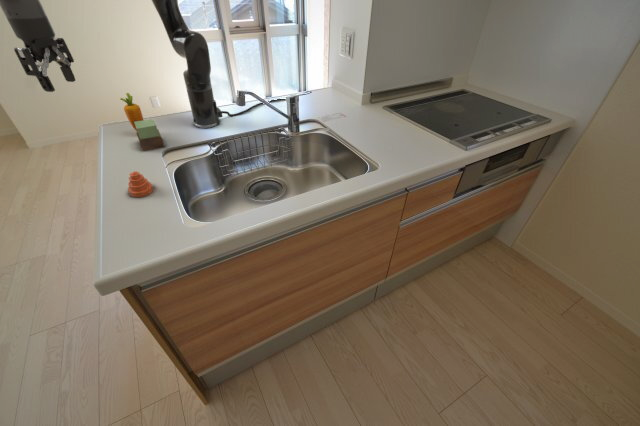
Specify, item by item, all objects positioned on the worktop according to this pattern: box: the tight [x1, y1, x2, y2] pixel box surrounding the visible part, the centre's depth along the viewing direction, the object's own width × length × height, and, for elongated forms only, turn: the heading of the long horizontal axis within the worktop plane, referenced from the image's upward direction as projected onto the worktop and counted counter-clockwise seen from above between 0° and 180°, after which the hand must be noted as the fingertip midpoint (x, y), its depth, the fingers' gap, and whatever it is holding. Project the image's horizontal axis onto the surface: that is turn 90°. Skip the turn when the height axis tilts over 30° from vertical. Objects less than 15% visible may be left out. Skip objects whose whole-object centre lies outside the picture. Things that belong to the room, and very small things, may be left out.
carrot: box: [119, 92, 144, 132], centre depth 106 cm, size 5×5×15 cm
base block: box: [135, 128, 165, 152], centre depth 104 cm, size 7×7×4 cm
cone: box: [127, 170, 154, 198], centre depth 83 cm, size 6×6×6 cm
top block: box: [134, 118, 160, 140], centre depth 101 cm, size 6×6×4 cm
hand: (61, 86), depth 79 cm, fingers open, 8 cm apart
